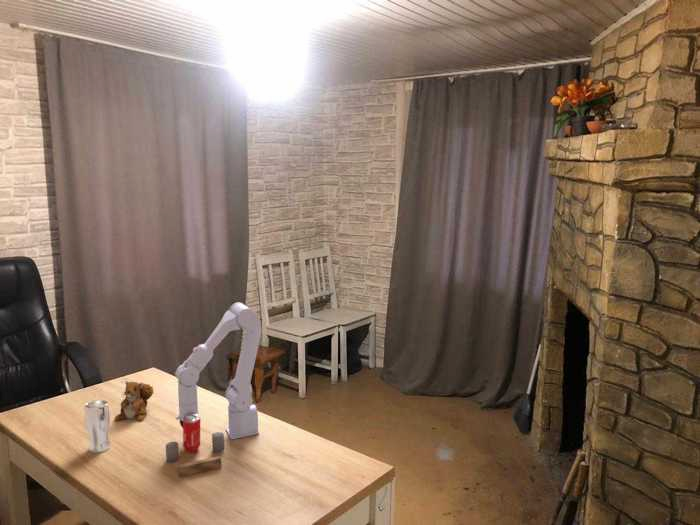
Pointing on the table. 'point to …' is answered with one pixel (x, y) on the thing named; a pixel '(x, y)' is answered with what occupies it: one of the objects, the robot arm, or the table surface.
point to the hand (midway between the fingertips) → (190, 440)
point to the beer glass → (97, 425)
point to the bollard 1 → (172, 452)
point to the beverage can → (191, 432)
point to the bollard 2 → (218, 442)
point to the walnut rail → (199, 466)
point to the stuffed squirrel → (135, 401)
